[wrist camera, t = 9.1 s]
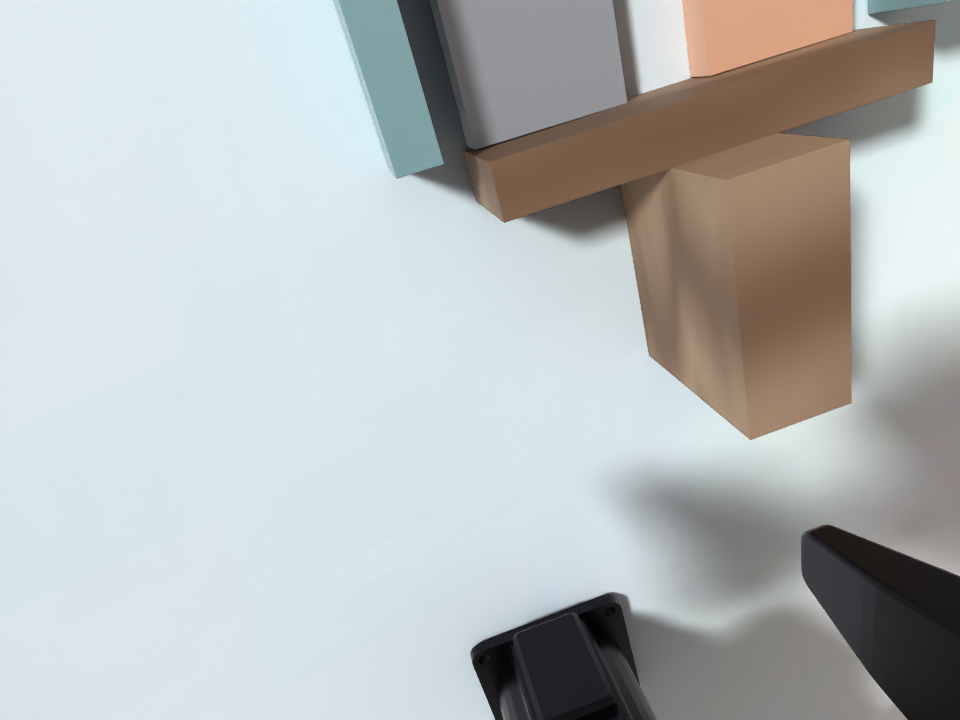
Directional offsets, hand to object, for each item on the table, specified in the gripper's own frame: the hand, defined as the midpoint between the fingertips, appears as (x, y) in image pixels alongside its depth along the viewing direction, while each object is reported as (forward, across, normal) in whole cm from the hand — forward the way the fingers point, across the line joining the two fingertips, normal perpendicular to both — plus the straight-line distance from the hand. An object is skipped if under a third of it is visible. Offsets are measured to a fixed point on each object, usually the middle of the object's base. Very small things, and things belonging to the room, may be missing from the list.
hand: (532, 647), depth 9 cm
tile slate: (+12, -5, -8) cm, 16 cm away
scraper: (+12, -9, -1) cm, 15 cm away
